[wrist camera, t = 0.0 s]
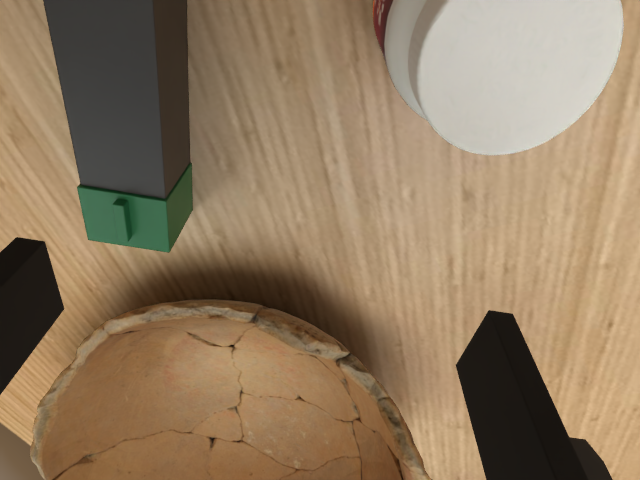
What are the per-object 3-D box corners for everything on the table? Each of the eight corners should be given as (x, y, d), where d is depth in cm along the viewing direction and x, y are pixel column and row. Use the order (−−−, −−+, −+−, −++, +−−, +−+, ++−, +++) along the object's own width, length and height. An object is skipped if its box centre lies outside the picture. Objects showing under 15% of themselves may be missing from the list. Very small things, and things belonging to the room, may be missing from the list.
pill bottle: (434, -113, 17) (540, -169, 8) (531, -13, 19) (705, 32, 10) (345, 22, 20) (349, 91, 11) (436, 96, 22) (502, 206, 13)
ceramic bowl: (209, 194, 24) (152, 476, 14) (451, 346, 39) (514, 540, 28) (20, 381, 38) (-80, 592, 28) (250, 441, 53) (242, 595, 42)
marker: (82, -90, 18) (5, -98, 14) (187, -68, 18) (142, -70, 14) (122, 198, 27) (82, 246, 23) (192, 210, 27) (166, 259, 23)
